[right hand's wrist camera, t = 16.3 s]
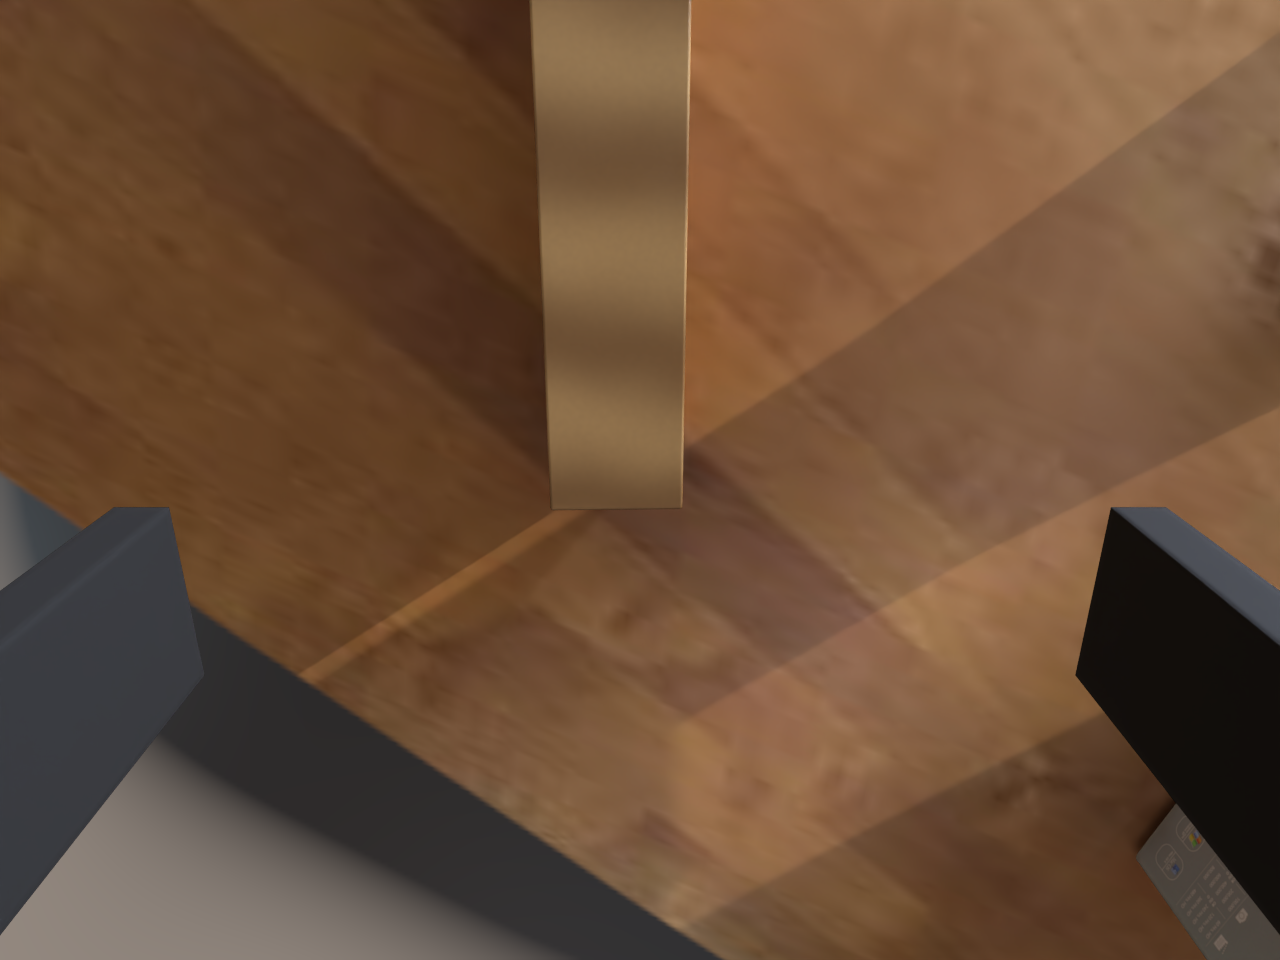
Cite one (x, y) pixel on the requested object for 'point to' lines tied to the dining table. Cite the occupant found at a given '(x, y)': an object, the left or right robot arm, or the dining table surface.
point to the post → (613, 245)
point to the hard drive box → (1206, 894)
